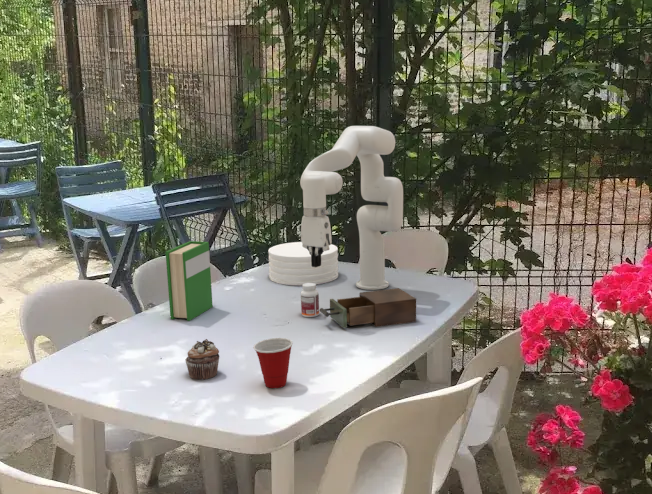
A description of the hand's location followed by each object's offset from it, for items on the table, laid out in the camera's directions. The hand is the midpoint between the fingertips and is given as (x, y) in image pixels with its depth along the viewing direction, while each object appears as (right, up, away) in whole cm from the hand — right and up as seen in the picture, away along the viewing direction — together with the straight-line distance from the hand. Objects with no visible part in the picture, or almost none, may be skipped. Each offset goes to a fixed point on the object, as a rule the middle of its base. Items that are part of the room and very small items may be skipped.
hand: (316, 266), depth 288 cm
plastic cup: (-12, -34, -53) cm, 64 cm away
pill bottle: (-2, -17, +9) cm, 19 cm away
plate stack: (-4, -3, +61) cm, 61 cm away
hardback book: (-44, -16, +15) cm, 49 cm away
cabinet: (+24, -18, +2) cm, 30 cm away
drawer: (+11, -18, -2) cm, 21 cm away
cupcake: (-33, -32, -44) cm, 64 cm away
